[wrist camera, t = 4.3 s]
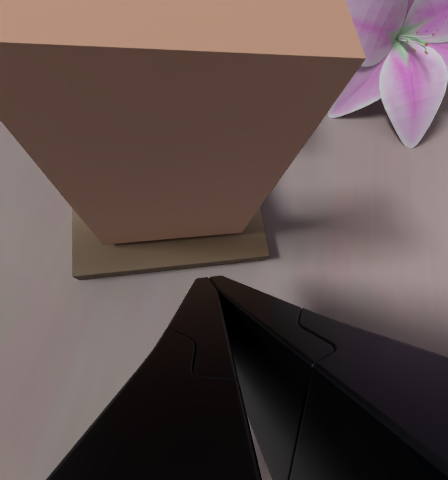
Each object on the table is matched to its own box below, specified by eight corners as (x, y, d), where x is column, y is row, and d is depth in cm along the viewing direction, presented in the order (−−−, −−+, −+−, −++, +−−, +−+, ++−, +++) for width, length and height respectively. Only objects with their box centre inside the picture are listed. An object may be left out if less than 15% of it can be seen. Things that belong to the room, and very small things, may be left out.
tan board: (264, 259, 17) (269, 255, 16) (78, 279, 15) (72, 276, 14) (228, 69, 21) (231, 56, 20) (77, 64, 19) (72, 50, 18)
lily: (258, 69, 23) (315, -3, 13) (363, -52, 22) (500, -219, 13) (353, 175, 26) (452, 176, 16) (447, 72, 25) (606, 12, 16)
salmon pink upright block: (241, 232, 15) (366, 58, 6) (102, 244, 14) (-66, 39, 4) (215, 79, 18) (267, -220, 8) (97, 76, 17) (-10, -288, 7)
